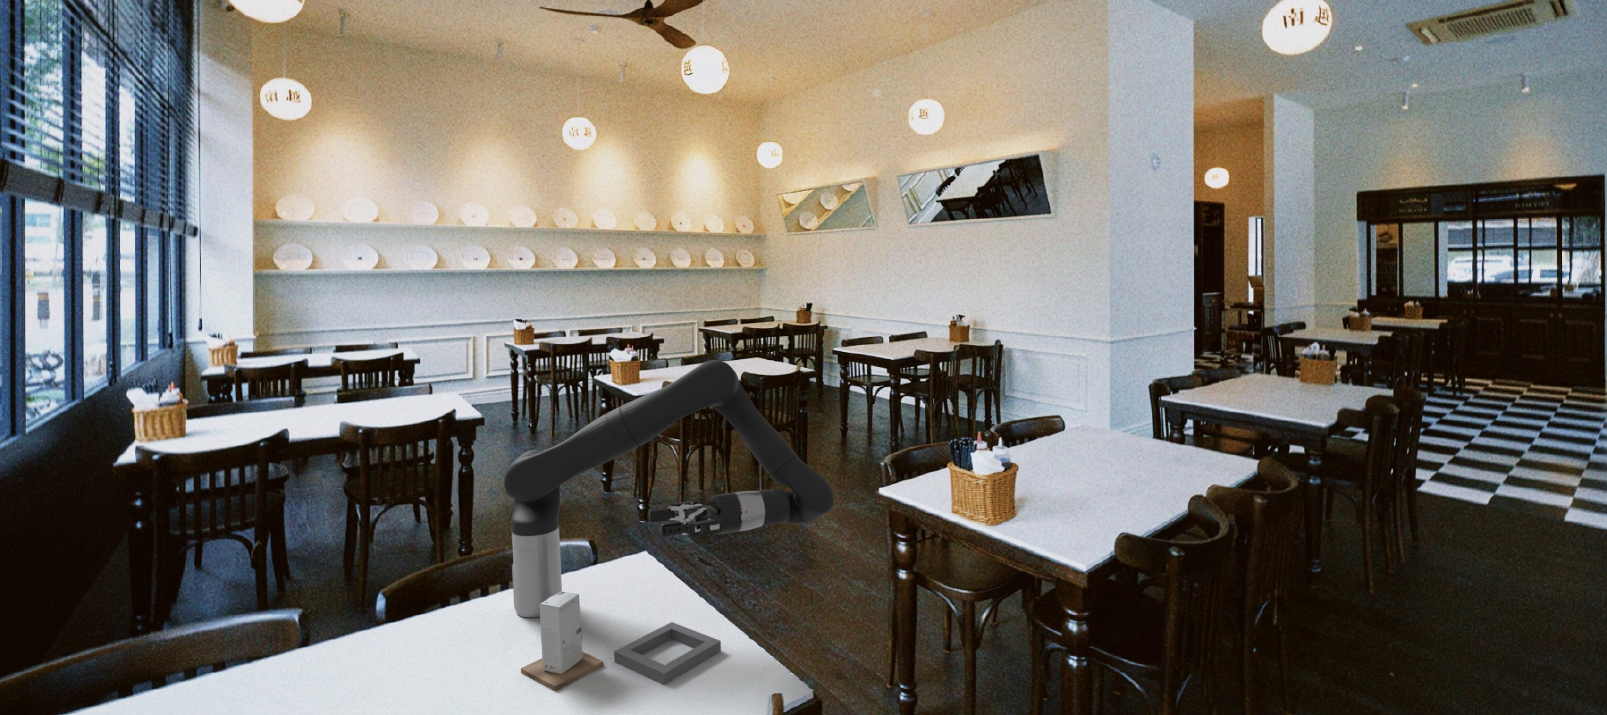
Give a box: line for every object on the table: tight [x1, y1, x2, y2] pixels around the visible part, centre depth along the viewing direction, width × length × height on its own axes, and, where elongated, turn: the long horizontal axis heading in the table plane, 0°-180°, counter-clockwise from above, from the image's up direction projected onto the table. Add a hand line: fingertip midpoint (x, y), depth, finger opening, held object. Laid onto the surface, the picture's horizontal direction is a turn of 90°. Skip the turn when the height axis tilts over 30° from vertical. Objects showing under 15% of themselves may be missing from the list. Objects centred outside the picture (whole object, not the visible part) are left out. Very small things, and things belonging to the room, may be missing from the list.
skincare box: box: [539, 591, 583, 674], centre depth 130 cm, size 6×4×12 cm
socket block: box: [613, 621, 722, 686], centre depth 135 cm, size 13×14×2 cm
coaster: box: [520, 651, 605, 692], centre depth 131 cm, size 10×10×1 cm
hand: (655, 523), depth 137 cm, fingers open, 8 cm apart
